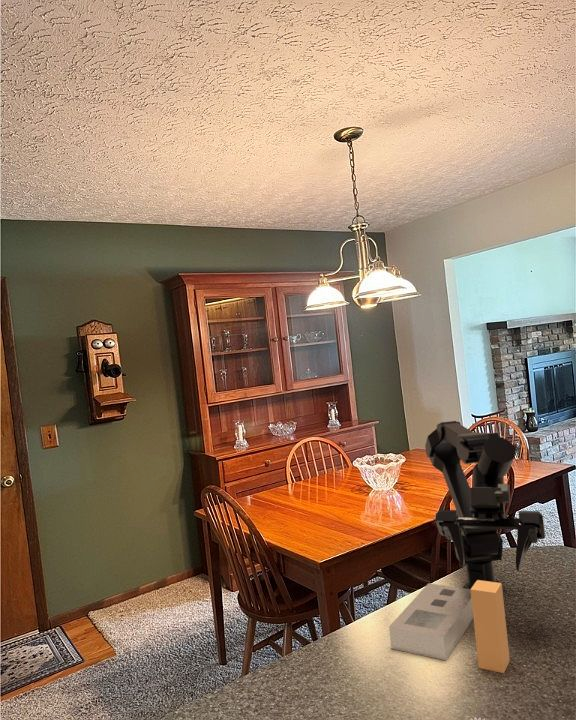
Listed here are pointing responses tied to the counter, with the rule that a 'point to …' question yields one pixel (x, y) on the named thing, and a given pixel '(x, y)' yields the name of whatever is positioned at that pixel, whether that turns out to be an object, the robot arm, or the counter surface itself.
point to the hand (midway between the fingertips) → (489, 568)
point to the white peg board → (433, 621)
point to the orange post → (490, 626)
